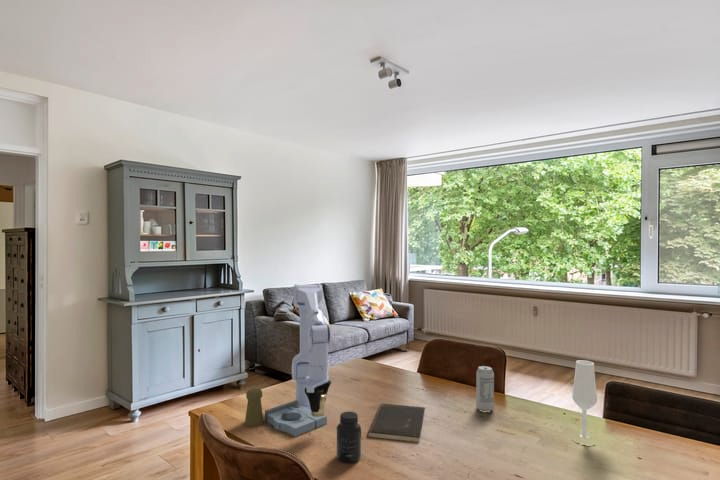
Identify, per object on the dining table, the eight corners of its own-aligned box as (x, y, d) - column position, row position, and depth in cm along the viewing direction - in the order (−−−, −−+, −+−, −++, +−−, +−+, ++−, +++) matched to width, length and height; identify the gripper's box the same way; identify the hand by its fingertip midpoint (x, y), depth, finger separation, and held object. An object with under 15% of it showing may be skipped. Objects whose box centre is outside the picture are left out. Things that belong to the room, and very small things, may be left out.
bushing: (318, 411, 136) (319, 391, 137) (329, 414, 133) (329, 394, 133) (306, 414, 133) (306, 394, 133) (316, 418, 129) (317, 397, 130)
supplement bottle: (335, 452, 123) (336, 409, 123) (359, 451, 123) (360, 409, 123) (336, 464, 116) (337, 420, 116) (362, 463, 117) (362, 419, 117)
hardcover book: (424, 413, 152) (424, 407, 152) (419, 444, 129) (419, 436, 129) (379, 409, 155) (380, 403, 155) (367, 438, 133) (367, 431, 133)
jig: (296, 410, 152) (296, 400, 152) (326, 423, 141) (326, 413, 141) (262, 422, 142) (262, 411, 142) (292, 437, 131) (292, 426, 131)
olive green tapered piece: (259, 427, 138) (259, 393, 138) (241, 425, 139) (241, 391, 139) (266, 419, 144) (266, 386, 144) (249, 417, 145) (249, 385, 145)
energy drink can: (491, 407, 157) (492, 365, 157) (495, 413, 151) (495, 370, 151) (474, 406, 158) (475, 365, 158) (477, 412, 152) (478, 370, 152)
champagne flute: (587, 448, 127) (588, 366, 126) (566, 438, 133) (567, 360, 132) (601, 443, 130) (602, 363, 130) (580, 434, 136) (582, 358, 136)
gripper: (314, 356, 141) (313, 398, 141) (297, 369, 127) (296, 416, 127) (335, 358, 139) (334, 400, 139) (319, 372, 125) (319, 418, 125)
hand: (318, 408), depth 133 cm, fingers closed on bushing, 5 cm apart
